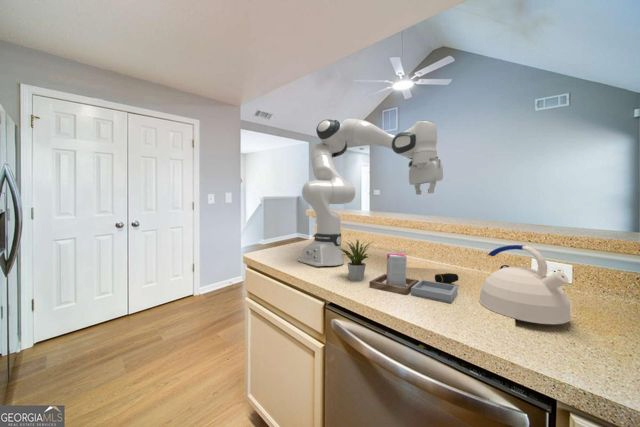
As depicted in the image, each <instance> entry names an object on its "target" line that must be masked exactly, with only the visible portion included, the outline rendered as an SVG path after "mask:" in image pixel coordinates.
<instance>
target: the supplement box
mask: <svg viewBox="0 0 640 427" xmlns="http://www.w3.org/2000/svg"><path fill="white" fill-rule="evenodd" d="M386 255H387V256H386V257H387V258H386V274H387V277H386V280H385V281H386V283H385V284H390V285H395V286H400V287H406V286H407V284H406V278H407V256H406V255H405V254H403V253H387V254H386Z"/></svg>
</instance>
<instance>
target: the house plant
mask: <svg viewBox="0 0 640 427" xmlns="http://www.w3.org/2000/svg"><path fill="white" fill-rule="evenodd" d="M348 241H349V242H350V243H349V242H347V241H343V242H344V243H346V244H344V246H346V247H347V249H350V251H351V253H350V252H349V251H348V250H346V249H344V248H342V247H341V248H339V249H340V250H341V252H343V253H342V256H347V258H349V260H350V262H347V268H348V269H347V270H348V277H349V280H350V281H354V282H361V281H363V280H364V277H365V271H366V266H367V264H366V263H365V262H362V261H364V260H365V259H367V258H368V259H370V257H371V255H370V254H368V253H366V251H367V250H368V248H369V247H371V244H372V243H373V241H371V242H368V241H364V242H363V243H360V240H358V239H356V243H355V245H354V243H353V242H352V241H351V240H349V239H348ZM367 242H368V243H367ZM365 243H367V244H366V245H365V246H363V245H364V244H365ZM347 245H348V246H347ZM359 246H360V247H359ZM369 256H370V257H369Z"/></svg>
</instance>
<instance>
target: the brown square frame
mask: <svg viewBox="0 0 640 427" xmlns="http://www.w3.org/2000/svg"><path fill="white" fill-rule="evenodd" d="M386 277H387V273H383V274H381V275H379V276H378V277H376V278H373V279H371V280H370V281H368V283H369V285H368V286H369V288H372V289H375V290H381V291H385V292H390V293H393V294H394V293H395V294H399V295H400V294H401V295H405V296H407V295H409V294H411V287H412V286H414V285H415V284H416V283H418V282H419V281H420V280H419V279H416V278H409V277H406V287H400V286H395V285H390V284H386V283H384V282H385V281H386Z"/></svg>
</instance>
